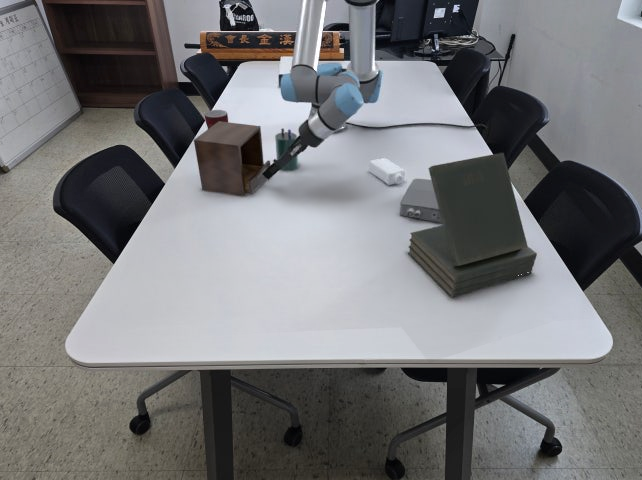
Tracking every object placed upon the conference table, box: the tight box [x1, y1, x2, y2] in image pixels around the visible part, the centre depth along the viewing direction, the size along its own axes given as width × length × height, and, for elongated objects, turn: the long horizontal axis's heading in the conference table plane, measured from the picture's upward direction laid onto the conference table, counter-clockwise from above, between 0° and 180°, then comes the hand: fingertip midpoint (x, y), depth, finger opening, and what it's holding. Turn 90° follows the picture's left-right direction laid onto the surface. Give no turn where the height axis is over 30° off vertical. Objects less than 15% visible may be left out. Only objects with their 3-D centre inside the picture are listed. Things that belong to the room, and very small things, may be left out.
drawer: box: [242, 159, 271, 195], centre depth 154 cm, size 14×15×4 cm
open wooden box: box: [193, 121, 265, 197], centre depth 152 cm, size 14×16×16 cm
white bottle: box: [368, 157, 406, 186], centre depth 159 cm, size 6×13×4 cm, turn 30°
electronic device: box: [399, 178, 443, 224], centre depth 143 cm, size 19×22×5 cm
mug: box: [204, 109, 229, 130], centre depth 180 cm, size 10×8×10 cm
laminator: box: [278, 55, 293, 88], centre depth 248 cm, size 34×12×6 cm, turn 4°
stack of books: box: [407, 152, 538, 299], centre depth 115 cm, size 23×20×25 cm
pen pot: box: [274, 127, 299, 172], centre depth 163 cm, size 7×7×13 cm
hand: (266, 176), depth 152 cm, fingers closed
